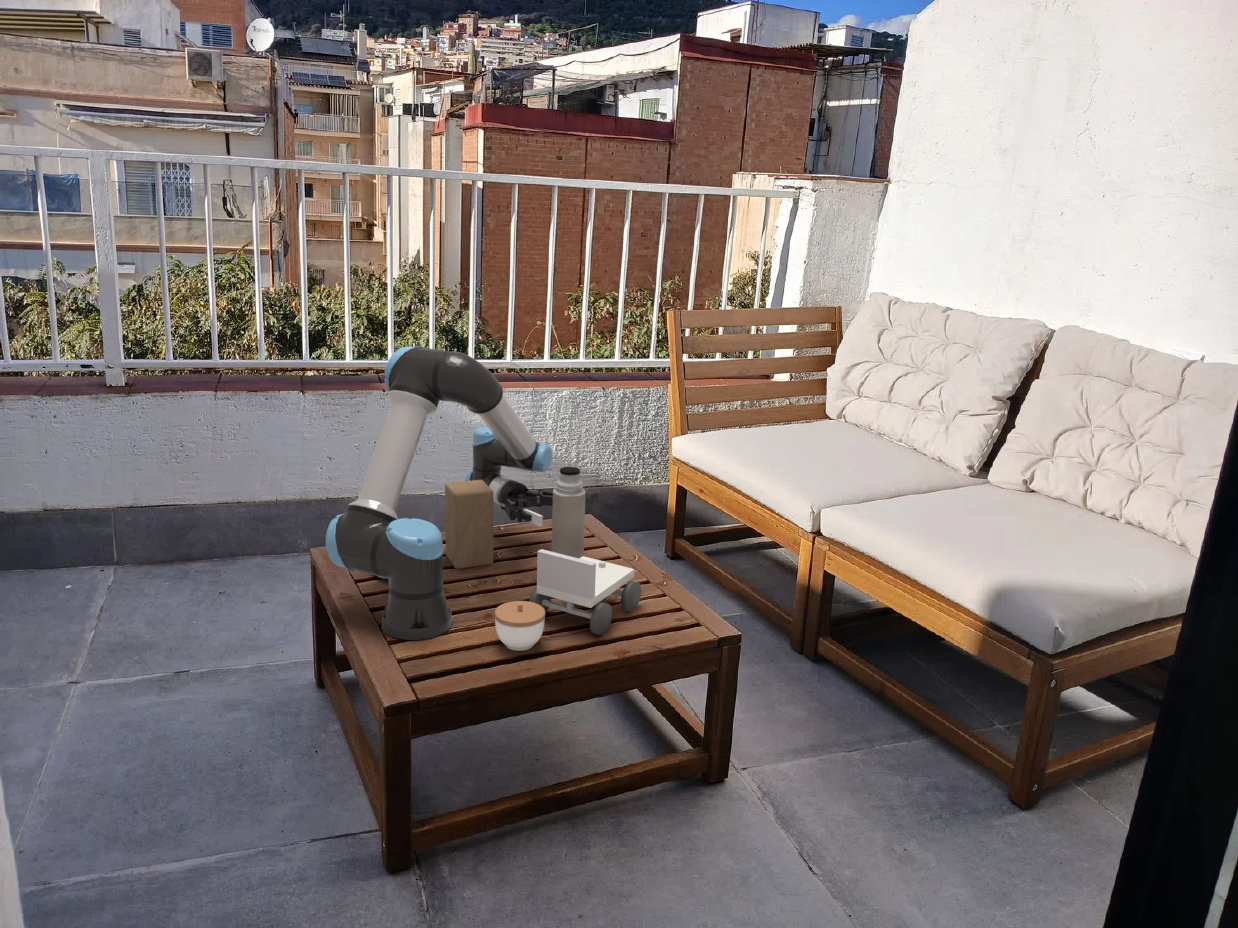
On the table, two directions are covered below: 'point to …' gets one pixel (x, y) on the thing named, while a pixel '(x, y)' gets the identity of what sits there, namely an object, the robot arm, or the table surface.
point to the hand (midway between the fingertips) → (562, 515)
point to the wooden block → (469, 523)
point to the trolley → (583, 586)
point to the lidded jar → (519, 624)
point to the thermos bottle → (568, 514)
